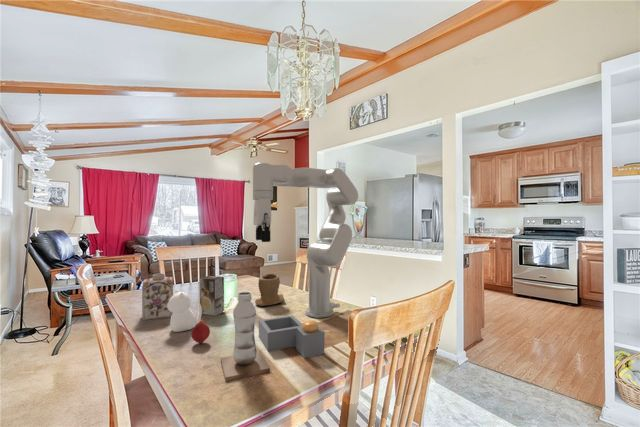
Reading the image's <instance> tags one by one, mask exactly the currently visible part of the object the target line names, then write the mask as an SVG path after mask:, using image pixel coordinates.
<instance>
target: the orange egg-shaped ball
mask: <svg viewBox="0 0 640 427" xmlns="http://www.w3.org/2000/svg"><path fill="white" fill-rule="evenodd" d="M301 323H302V330H303V331H304V332H315V331H317V330H318V327H319V324H318V321H316V320H309V319H308V320H304V321H302V322H301Z"/></svg>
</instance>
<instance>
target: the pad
mask: <svg viewBox="0 0 640 427" xmlns="http://www.w3.org/2000/svg"><path fill="white" fill-rule="evenodd" d="M220 364H221V368H222V371H223V377H224V380H225V382H229V381H232V380H233V381H234V380H237V379H243V378H247V377H253V376H256V375H260V374H265V373H269V372H270V371H271V368H270V366H269V364H268V362H267V360H266V358H265V357H264V354H263V353H262V351H261V350H257V354H256V358H255V360H254V361H253V362H252V363H250V364H246V365H240V364H237V363H236V362H235V361H234V357H233V355H229V356H224V357H220Z"/></svg>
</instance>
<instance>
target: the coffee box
mask: <svg viewBox="0 0 640 427" xmlns="http://www.w3.org/2000/svg"><path fill="white" fill-rule="evenodd" d="M224 285H225V277H224V276H217V275H215V276H214V275H206V276H203V277H200V278H199V303H200V305H201V307H202V315H206V316H207V315H208V316H214V317H215V316H218V315H220V314H223V313H224V312H225V286H224ZM223 311H224V312H223ZM222 312H223V313H222Z"/></svg>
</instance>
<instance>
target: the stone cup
mask: <svg viewBox="0 0 640 427" xmlns="http://www.w3.org/2000/svg"><path fill="white" fill-rule="evenodd" d="M280 284H281V280H280V276H279V274H276V273H272V272H271V273H266V274H264V275H263V274H262V275H261V276H259V278H258V289H259V292H260V298H257V299H255V300H254V303H255V304H256V305H257V306H260V307H264V306H265V307H266V306H271V305H276V304H281V303H284V302H285V301H286V300H285V298H284V294H283V293H279V288H280ZM278 293H279V294H278Z"/></svg>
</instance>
